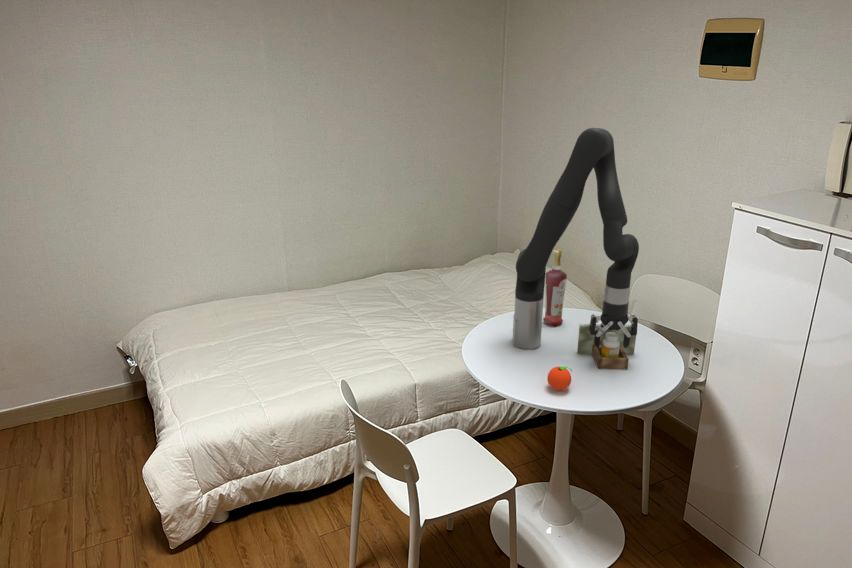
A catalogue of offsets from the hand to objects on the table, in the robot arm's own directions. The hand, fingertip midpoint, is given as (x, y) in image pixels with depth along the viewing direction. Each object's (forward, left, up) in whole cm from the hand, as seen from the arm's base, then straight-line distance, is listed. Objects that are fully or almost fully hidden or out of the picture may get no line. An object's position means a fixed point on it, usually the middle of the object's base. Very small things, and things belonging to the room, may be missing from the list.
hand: (611, 346), depth 195 cm
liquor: (-14, +29, -6) cm, 33 cm away
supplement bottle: (0, 0, -6) cm, 6 cm away
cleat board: (0, +1, -6) cm, 6 cm away
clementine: (-18, -17, -6) cm, 25 cm away
